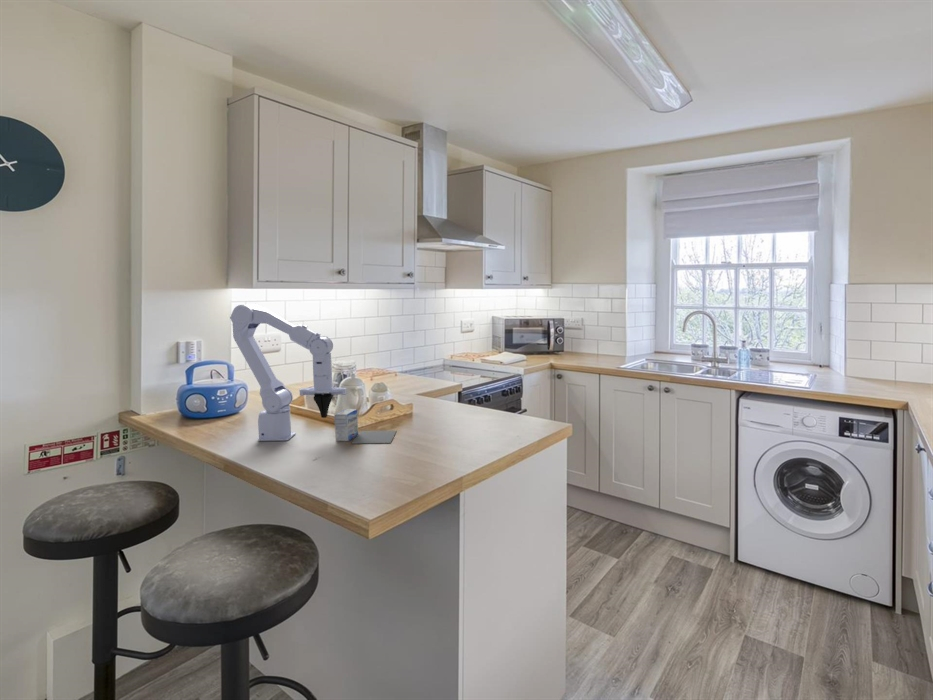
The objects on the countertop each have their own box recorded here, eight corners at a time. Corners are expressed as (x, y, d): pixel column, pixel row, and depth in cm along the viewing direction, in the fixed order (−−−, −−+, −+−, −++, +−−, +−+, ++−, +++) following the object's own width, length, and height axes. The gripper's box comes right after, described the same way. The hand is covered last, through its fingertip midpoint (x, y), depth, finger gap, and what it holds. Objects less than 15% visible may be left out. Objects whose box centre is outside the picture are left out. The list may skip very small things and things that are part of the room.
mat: (351, 444, 158) (351, 443, 158) (360, 431, 172) (360, 431, 172) (390, 443, 158) (390, 442, 158) (396, 431, 172) (396, 430, 172)
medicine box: (348, 441, 161) (347, 414, 160) (335, 441, 162) (334, 414, 161) (358, 434, 169) (357, 409, 168) (345, 434, 169) (344, 408, 168)
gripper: (295, 377, 159) (297, 420, 160) (342, 376, 159) (344, 419, 160) (302, 373, 166) (304, 414, 167) (347, 373, 166) (349, 414, 167)
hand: (324, 417), depth 164 cm, fingers closed
